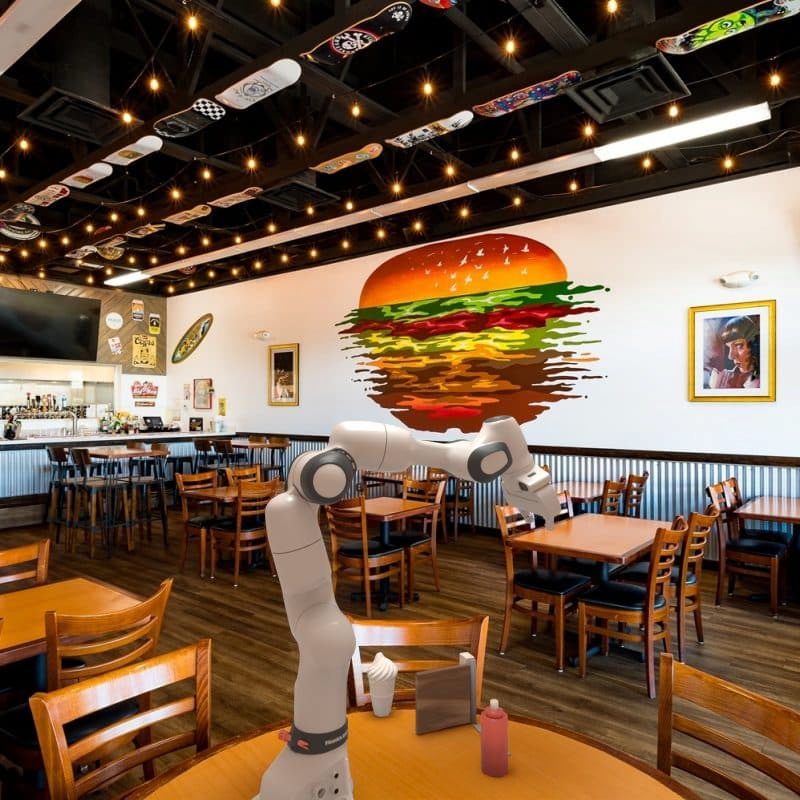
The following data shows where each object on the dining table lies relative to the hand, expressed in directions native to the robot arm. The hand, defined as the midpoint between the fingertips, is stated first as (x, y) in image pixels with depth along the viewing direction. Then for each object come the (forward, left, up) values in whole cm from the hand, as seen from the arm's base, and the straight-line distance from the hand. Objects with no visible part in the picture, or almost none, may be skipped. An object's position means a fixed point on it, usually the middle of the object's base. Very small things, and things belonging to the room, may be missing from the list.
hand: (540, 525), depth 151 cm
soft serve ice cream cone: (-14, +40, -53) cm, 67 cm away
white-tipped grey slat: (-6, +13, -52) cm, 54 cm away
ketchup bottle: (-18, +3, -52) cm, 56 cm away
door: (-10, +23, -52) cm, 57 cm away
